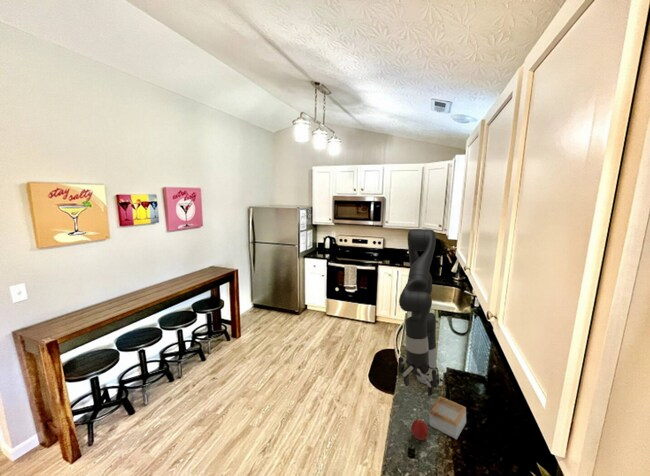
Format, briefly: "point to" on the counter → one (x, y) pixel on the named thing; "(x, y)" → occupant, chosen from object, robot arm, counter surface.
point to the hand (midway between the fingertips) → (418, 389)
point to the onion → (419, 429)
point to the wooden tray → (447, 417)
